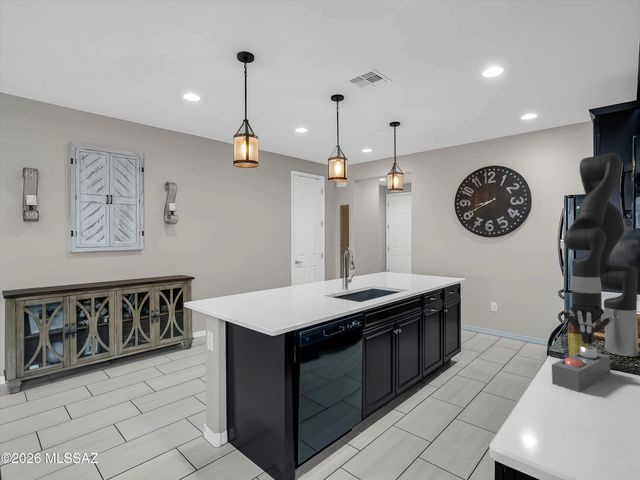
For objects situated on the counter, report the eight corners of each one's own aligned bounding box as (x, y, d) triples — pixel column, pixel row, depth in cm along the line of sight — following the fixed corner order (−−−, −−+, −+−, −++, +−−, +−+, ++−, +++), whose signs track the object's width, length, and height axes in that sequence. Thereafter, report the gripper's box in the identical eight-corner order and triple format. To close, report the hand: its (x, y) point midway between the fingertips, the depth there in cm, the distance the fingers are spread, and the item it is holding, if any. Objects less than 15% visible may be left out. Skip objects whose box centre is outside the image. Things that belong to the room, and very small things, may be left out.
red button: (569, 372, 106) (569, 357, 106) (586, 377, 102) (585, 361, 102) (562, 376, 104) (562, 360, 104) (579, 381, 100) (578, 364, 100)
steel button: (583, 359, 111) (583, 344, 111) (600, 363, 108) (599, 347, 108) (577, 362, 109) (577, 346, 109) (594, 366, 105) (593, 350, 105)
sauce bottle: (595, 366, 115) (593, 308, 115) (575, 365, 116) (573, 308, 116) (584, 359, 122) (582, 304, 121) (565, 358, 123) (563, 304, 123)
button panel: (584, 367, 114) (584, 349, 114) (610, 374, 108) (609, 355, 108) (552, 383, 103) (551, 364, 103) (578, 392, 97) (578, 371, 97)
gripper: (616, 291, 104) (618, 346, 104) (568, 286, 116) (569, 336, 116) (606, 294, 101) (608, 351, 101) (557, 289, 112) (559, 340, 112)
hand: (587, 343), depth 108 cm, fingers closed
